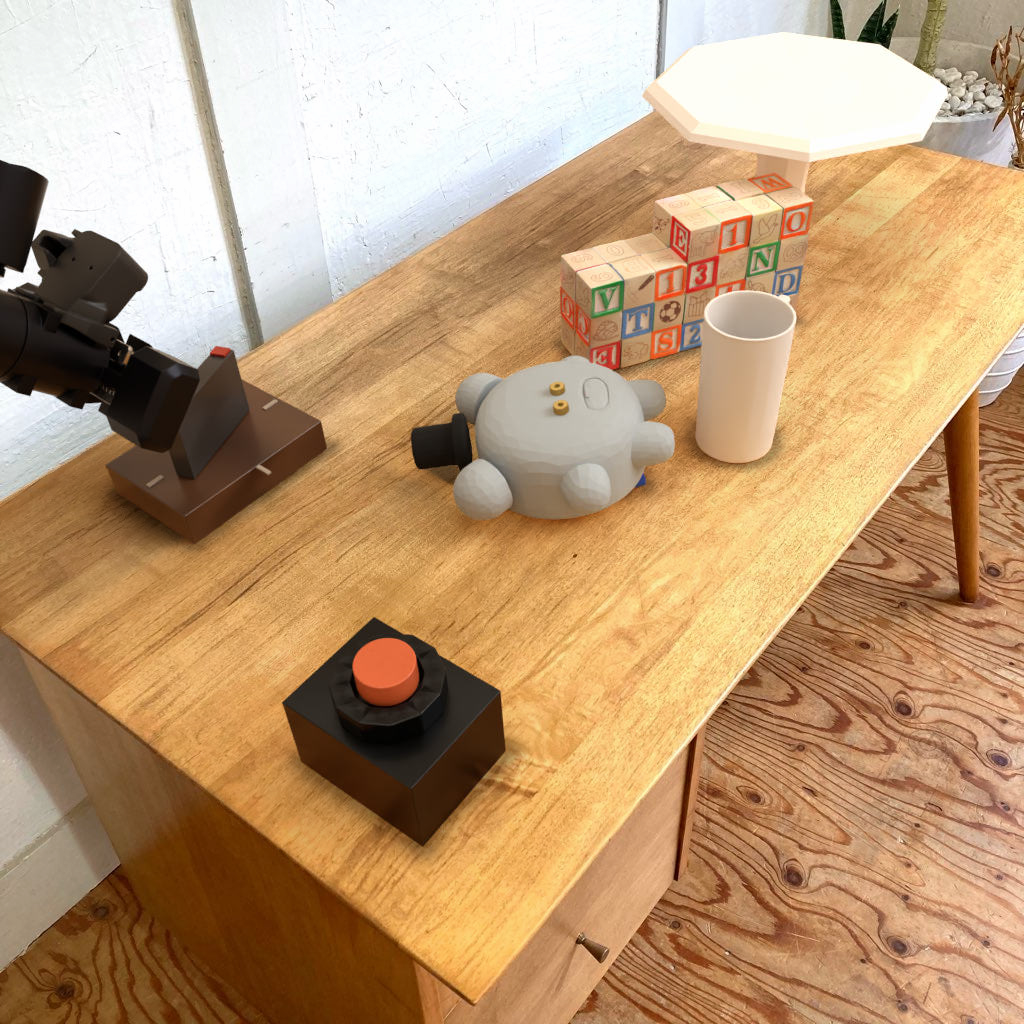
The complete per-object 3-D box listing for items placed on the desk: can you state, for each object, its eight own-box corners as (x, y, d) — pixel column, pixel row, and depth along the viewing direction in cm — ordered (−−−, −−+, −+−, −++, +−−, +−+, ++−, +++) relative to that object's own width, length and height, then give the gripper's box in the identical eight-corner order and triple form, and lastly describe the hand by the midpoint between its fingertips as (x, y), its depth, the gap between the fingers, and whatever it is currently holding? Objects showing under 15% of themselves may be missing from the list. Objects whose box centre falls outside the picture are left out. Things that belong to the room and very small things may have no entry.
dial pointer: (194, 479, 81) (173, 415, 76) (176, 476, 81) (154, 412, 77) (250, 409, 87) (233, 346, 83) (233, 406, 87) (215, 344, 83)
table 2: (637, 181, 120) (643, 29, 109) (889, 181, 117) (923, 25, 106) (634, 316, 100) (641, 147, 89) (938, 320, 97) (986, 146, 86)
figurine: (659, 395, 90) (430, 426, 92) (653, 311, 84) (409, 345, 86) (688, 537, 77) (422, 570, 79) (684, 450, 72) (397, 487, 73)
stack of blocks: (588, 380, 93) (589, 255, 84) (559, 343, 97) (557, 221, 89) (795, 320, 98) (816, 198, 90) (759, 288, 103) (776, 169, 94)
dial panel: (208, 553, 79) (197, 523, 77) (104, 484, 85) (92, 455, 83) (340, 456, 87) (334, 426, 85) (236, 399, 93) (228, 370, 91)
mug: (746, 477, 83) (765, 351, 74) (675, 444, 86) (686, 319, 78) (811, 415, 88) (835, 290, 80) (741, 385, 91) (758, 263, 83)
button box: (300, 762, 65) (275, 683, 60) (386, 677, 70) (369, 597, 64) (422, 847, 61) (407, 770, 55) (506, 751, 65) (499, 671, 60)
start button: (343, 687, 60) (338, 668, 59) (385, 647, 62) (381, 627, 61) (390, 717, 58) (386, 698, 57) (432, 675, 60) (429, 655, 59)
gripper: (134, 261, 62) (304, 333, 76) (-33, 181, 71) (146, 259, 85) (64, 432, 63) (243, 473, 77) (-92, 332, 72) (94, 385, 86)
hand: (180, 390), depth 81 cm, fingers closed
